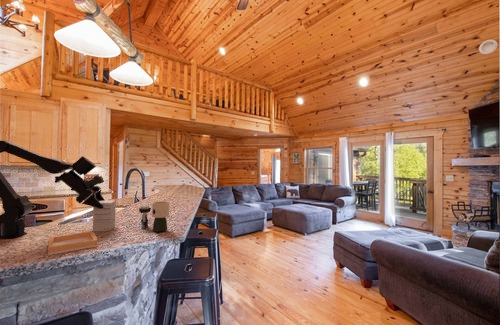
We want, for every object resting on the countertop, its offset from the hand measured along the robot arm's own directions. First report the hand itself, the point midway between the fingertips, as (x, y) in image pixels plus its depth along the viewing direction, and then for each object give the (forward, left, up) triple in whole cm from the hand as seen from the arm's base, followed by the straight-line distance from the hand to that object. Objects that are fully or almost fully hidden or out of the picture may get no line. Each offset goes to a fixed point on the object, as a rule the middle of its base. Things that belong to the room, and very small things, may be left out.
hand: (104, 206), depth 103 cm
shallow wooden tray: (0, -21, -10) cm, 23 cm away
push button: (+17, +2, -11) cm, 20 cm away
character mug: (+26, -4, -11) cm, 28 cm away
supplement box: (0, 0, -11) cm, 11 cm away
